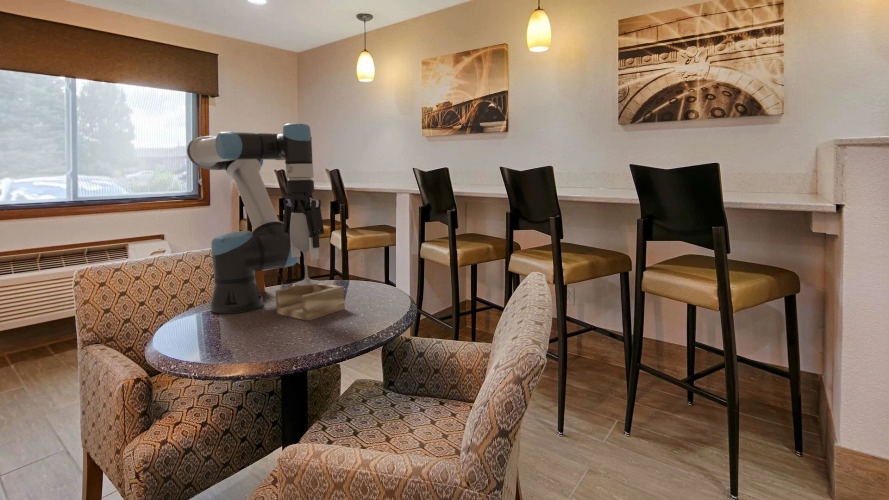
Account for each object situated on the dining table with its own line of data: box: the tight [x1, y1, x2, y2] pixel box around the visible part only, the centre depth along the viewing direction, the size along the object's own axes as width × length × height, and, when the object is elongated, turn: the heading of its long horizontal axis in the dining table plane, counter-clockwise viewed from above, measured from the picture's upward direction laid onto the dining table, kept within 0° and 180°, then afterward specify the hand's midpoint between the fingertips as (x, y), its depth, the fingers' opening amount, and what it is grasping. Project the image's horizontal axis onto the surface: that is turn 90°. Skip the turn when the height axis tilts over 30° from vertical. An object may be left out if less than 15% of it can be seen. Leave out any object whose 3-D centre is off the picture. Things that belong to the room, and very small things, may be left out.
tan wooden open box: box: [274, 282, 346, 322], centre depth 150 cm, size 14×14×7 cm
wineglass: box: [290, 213, 321, 286], centre depth 146 cm, size 8×8×21 cm
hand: (305, 257), depth 147 cm, fingers closed on wineglass, 8 cm apart
